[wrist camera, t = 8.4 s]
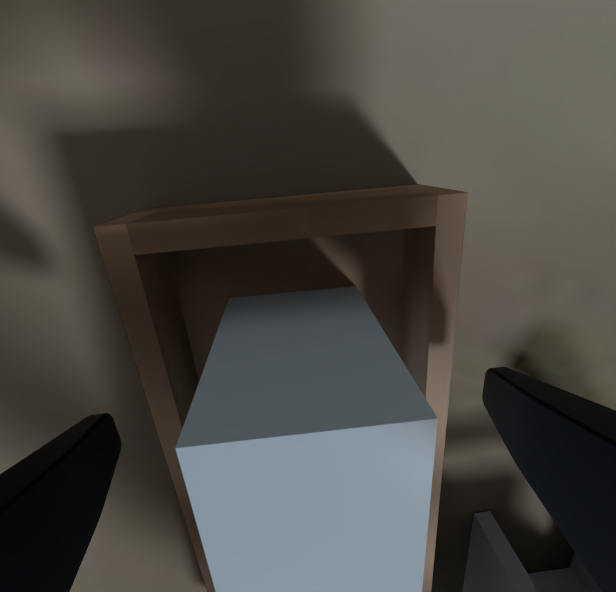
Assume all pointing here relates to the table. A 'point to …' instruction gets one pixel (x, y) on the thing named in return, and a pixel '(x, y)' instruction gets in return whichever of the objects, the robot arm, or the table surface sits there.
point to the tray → (287, 290)
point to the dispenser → (514, 566)
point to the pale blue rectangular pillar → (309, 450)
